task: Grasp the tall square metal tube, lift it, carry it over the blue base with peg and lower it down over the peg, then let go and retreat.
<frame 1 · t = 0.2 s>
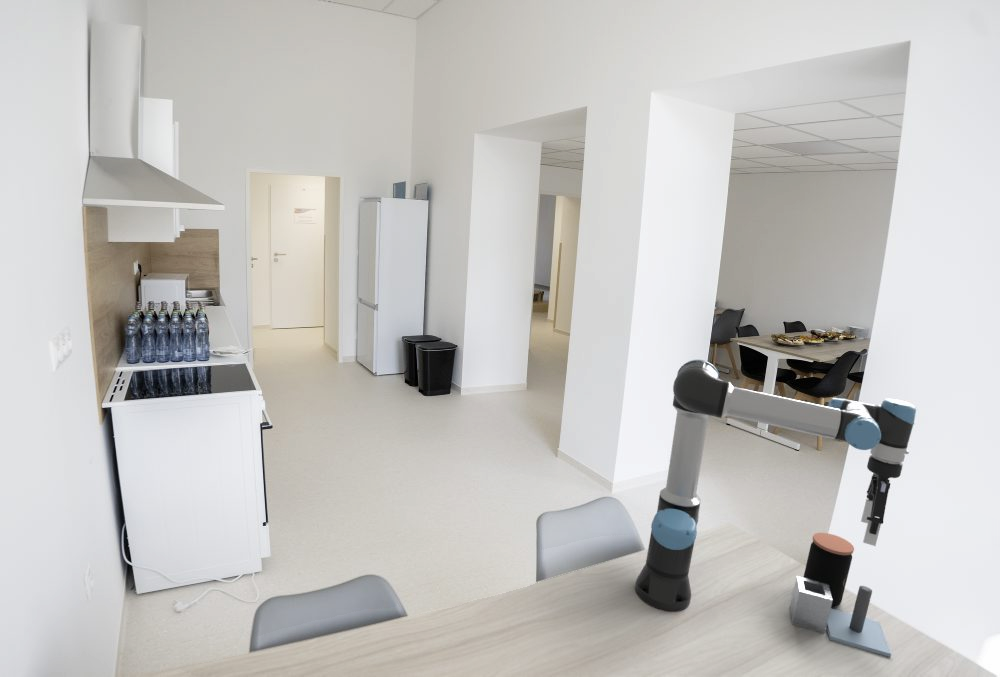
hand: (867, 533, 166), 27 cm above the table, fingers open, 13 cm apart
blue base with peg: (854, 632, 167), on the table
coffee jar: (819, 598, 182), on the table
square metal tube: (806, 620, 170), on the table
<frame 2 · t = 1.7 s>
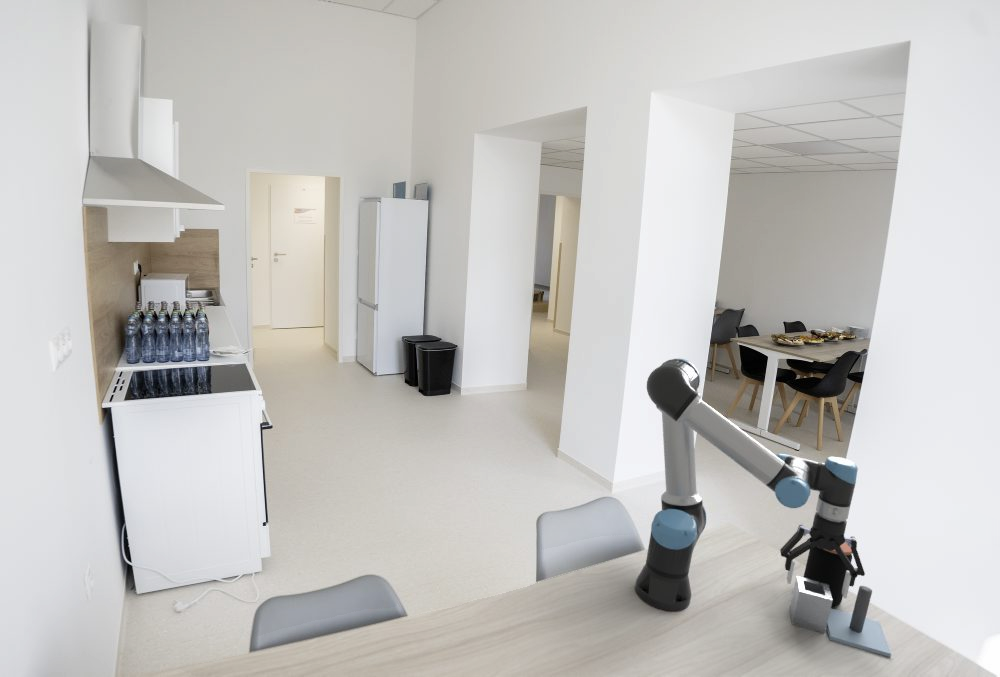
hand: (815, 588, 168), 10 cm above the table, fingers open, 13 cm apart
nothing on the table moved.
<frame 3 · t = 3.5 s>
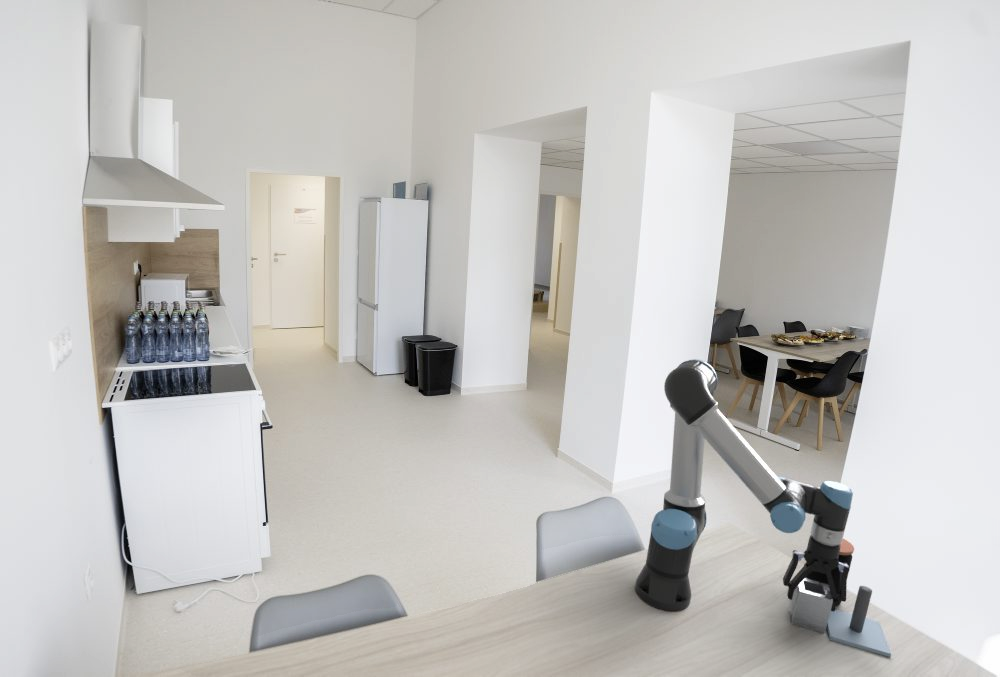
hand: (807, 614, 170), 2 cm above the table, fingers closed on square metal tube, 8 cm apart
square metal tube: (806, 620, 170), on the table, touching gripper
everything else where it was.
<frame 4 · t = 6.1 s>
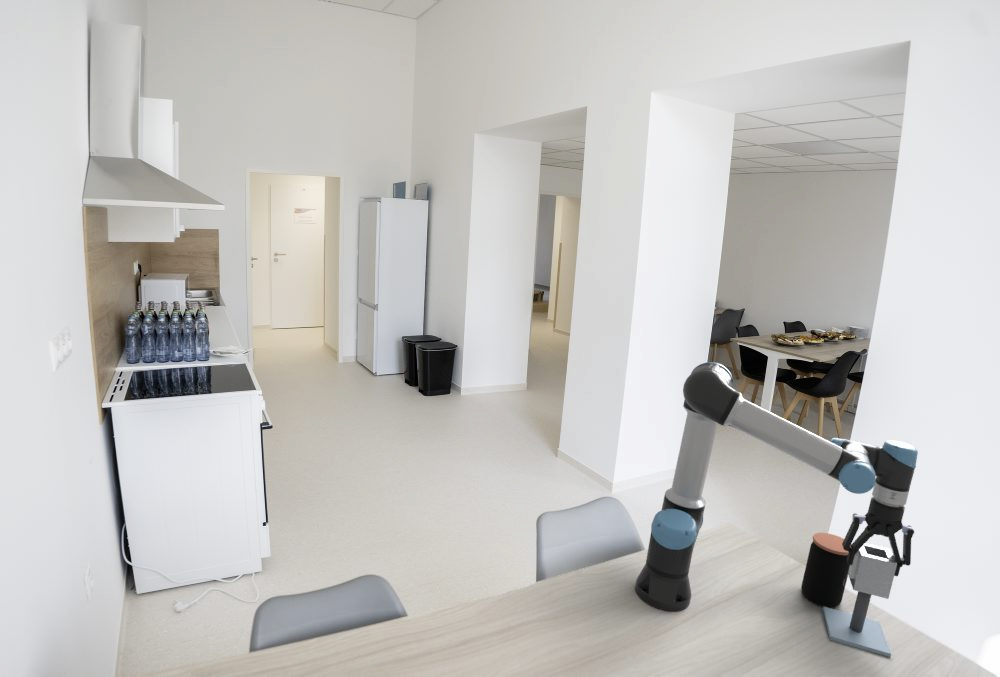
hand: (869, 580, 164), 16 cm above the table, fingers closed on square metal tube, 8 cm apart
square metal tube: (867, 586, 164), point 14 cm above the table, touching gripper
everything else where it was.
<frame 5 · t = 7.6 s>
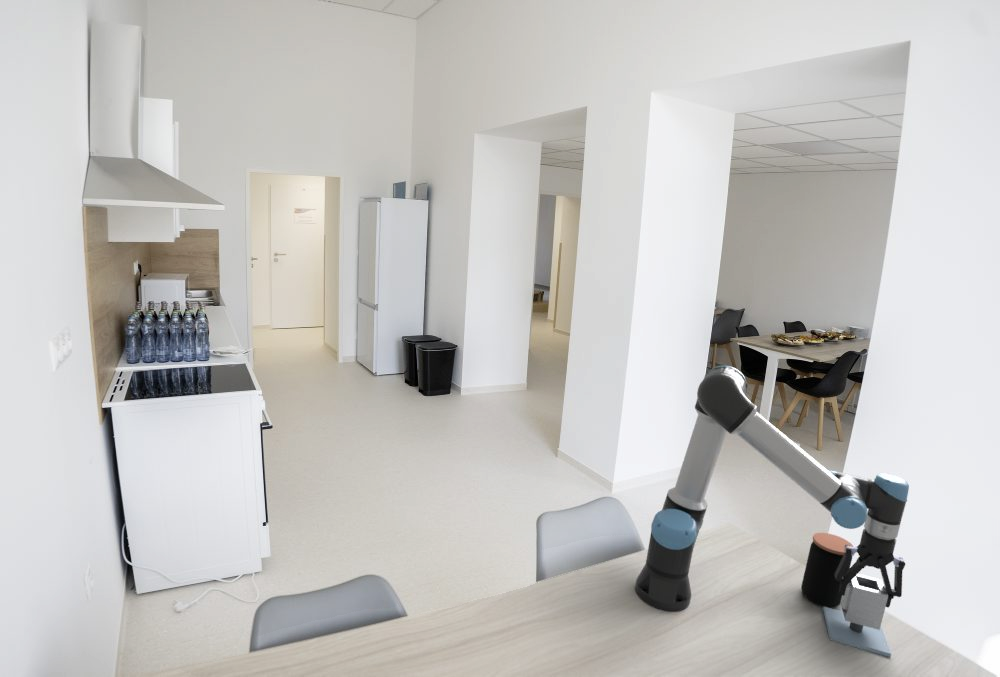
hand: (860, 610, 166), 7 cm above the table, fingers closed on square metal tube, 8 cm apart
square metal tube: (859, 616, 166), point 5 cm above the table, touching gripper
everything else where it was.
when the fingers open (5 cm above the table, at t = 8.8 s): square metal tube drops 2 cm, resting on blue base with peg.
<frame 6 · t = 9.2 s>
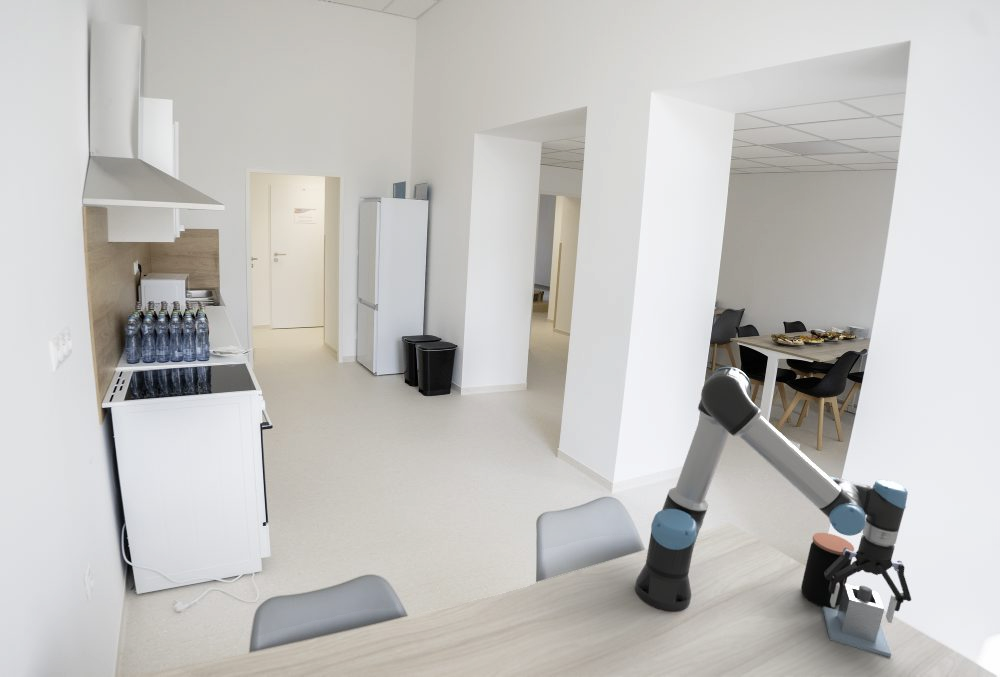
hand: (859, 612, 166), 6 cm above the table, fingers open, 13 cm apart
square metal tube: (855, 628, 167), point 1 cm above the table, touching blue base with peg
everything else where it was.
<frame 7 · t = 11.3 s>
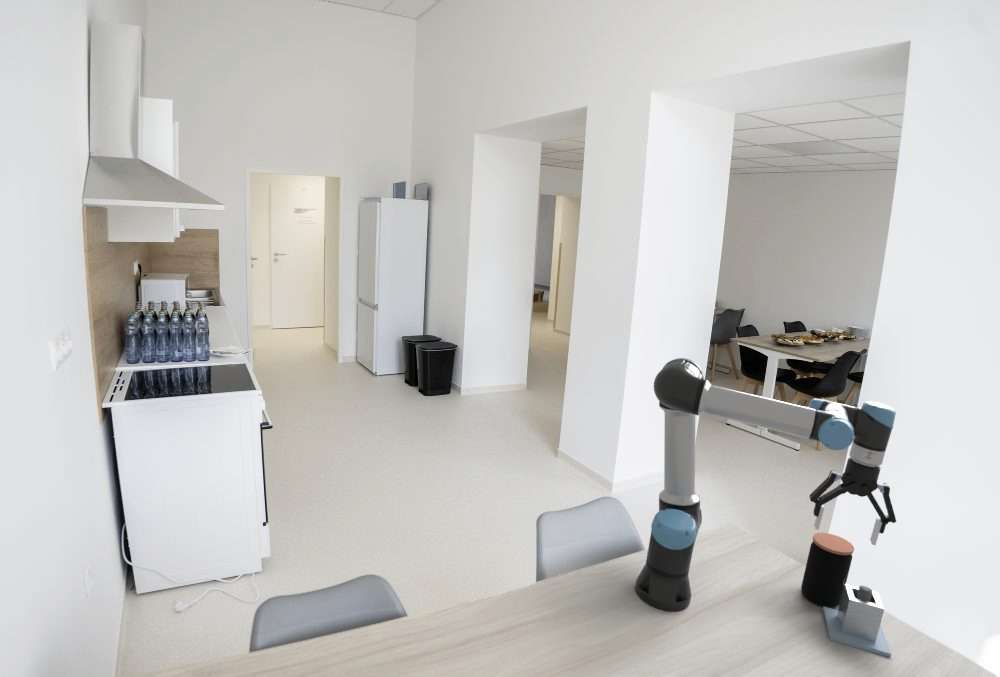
hand: (844, 534, 166), 26 cm above the table, fingers open, 13 cm apart
nothing on the table moved.
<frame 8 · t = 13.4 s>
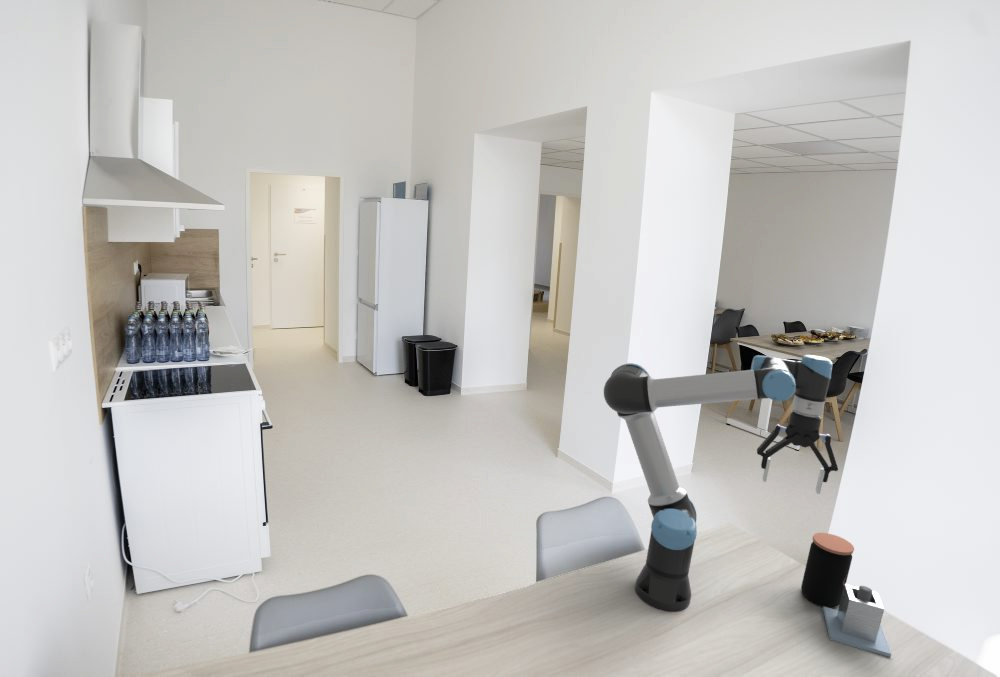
hand: (790, 485, 172), 35 cm above the table, fingers open, 13 cm apart
nothing on the table moved.
at the end: square metal tube 0.0 cm off-centre on the blue base with peg, point 1.0 cm above the blue base with peg's base; the gripper is holding nothing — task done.
